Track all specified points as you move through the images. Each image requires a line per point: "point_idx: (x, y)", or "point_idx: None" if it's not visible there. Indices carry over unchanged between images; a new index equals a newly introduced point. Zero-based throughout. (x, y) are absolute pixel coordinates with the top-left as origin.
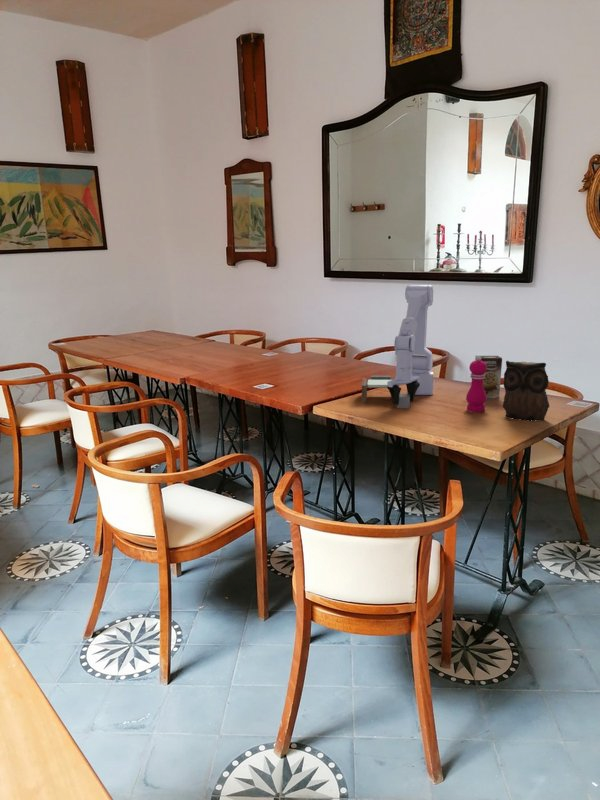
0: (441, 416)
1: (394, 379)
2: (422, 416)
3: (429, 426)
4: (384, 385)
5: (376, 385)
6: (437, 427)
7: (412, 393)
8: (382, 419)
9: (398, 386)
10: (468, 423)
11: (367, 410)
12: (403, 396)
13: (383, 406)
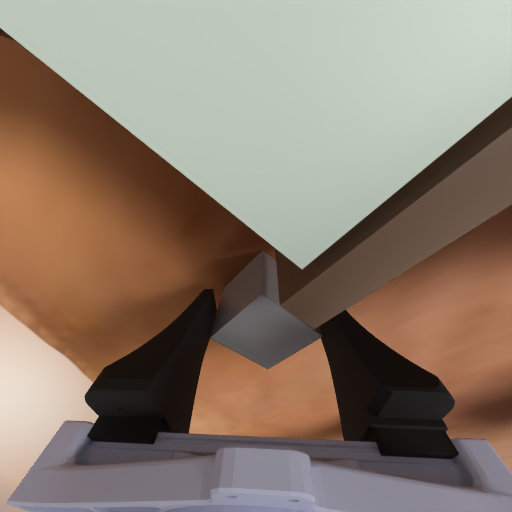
0: (277, 400)
1: (151, 497)
2: (232, 381)
3: (191, 416)
4: (195, 180)
5: (54, 67)
6: (202, 424)
7: (329, 356)
8: (93, 344)
9: (305, 319)
10: (280, 437)
11: (62, 235)
12: (245, 351)
13: (179, 228)
